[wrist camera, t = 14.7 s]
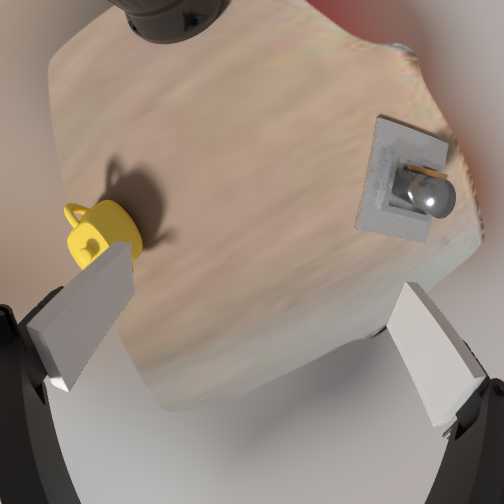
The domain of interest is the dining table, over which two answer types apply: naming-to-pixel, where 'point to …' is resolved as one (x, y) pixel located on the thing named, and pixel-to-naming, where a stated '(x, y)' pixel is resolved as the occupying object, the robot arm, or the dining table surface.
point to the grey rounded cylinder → (425, 190)
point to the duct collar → (382, 178)
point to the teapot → (100, 231)
